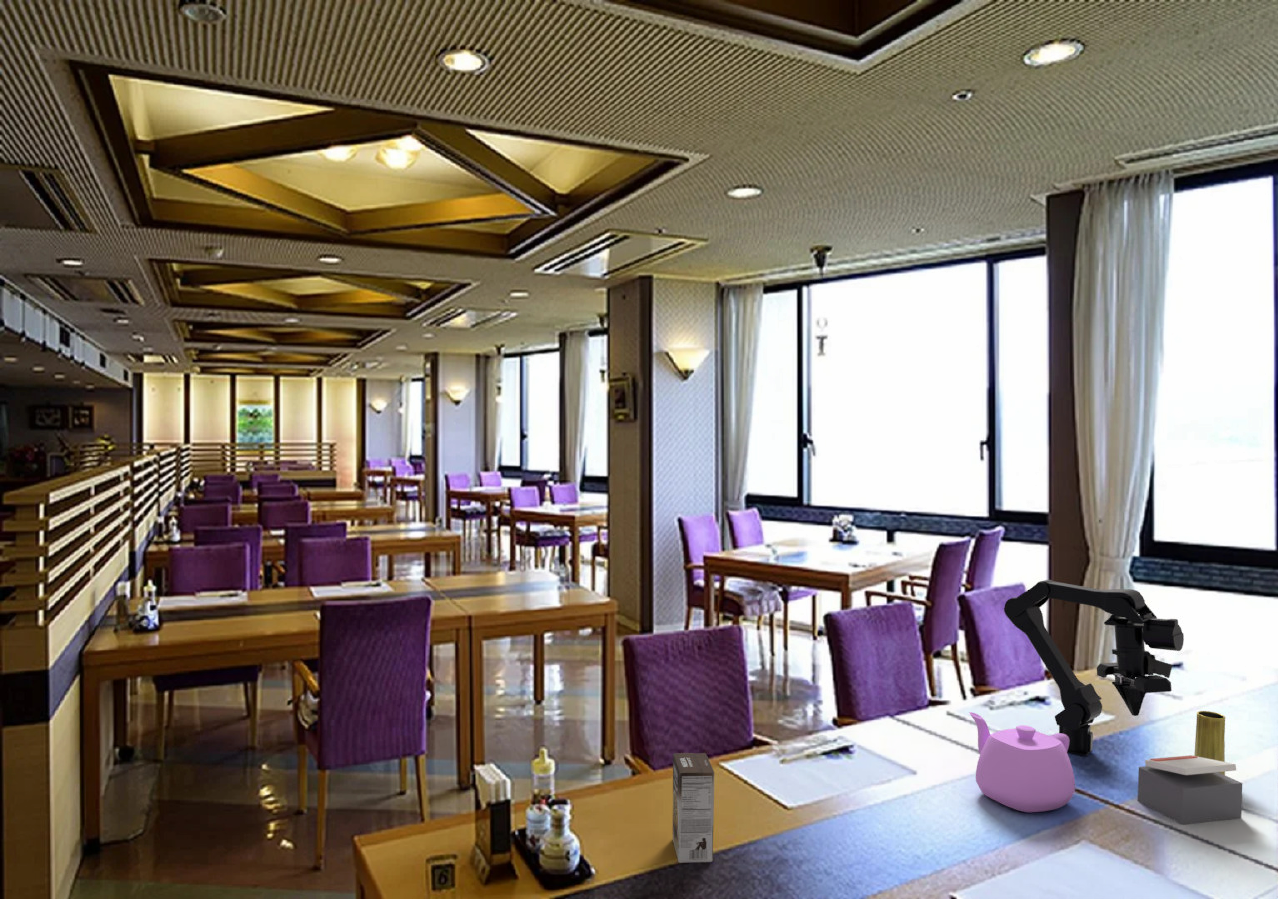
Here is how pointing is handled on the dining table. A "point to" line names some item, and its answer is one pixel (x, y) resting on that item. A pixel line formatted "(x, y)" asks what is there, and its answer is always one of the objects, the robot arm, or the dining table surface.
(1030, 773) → the teapot
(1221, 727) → the vase
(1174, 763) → the rocker
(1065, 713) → the robot arm
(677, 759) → the coffee box
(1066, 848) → the dining table surface
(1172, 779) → the switch box
